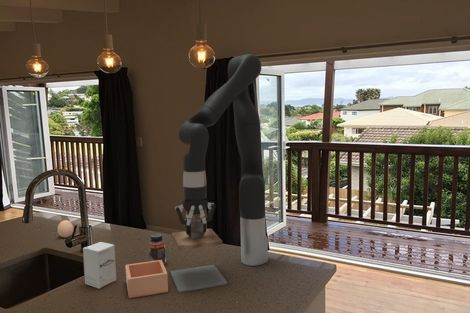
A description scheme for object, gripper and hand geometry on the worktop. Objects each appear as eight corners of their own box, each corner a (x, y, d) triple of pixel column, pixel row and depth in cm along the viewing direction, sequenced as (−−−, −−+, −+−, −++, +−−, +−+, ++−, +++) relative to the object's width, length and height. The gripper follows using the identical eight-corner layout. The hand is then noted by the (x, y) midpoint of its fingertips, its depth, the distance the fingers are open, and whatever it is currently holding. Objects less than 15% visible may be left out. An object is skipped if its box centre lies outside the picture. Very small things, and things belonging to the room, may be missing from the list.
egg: (72, 238, 177) (71, 221, 176) (56, 240, 176) (55, 222, 175) (74, 234, 183) (73, 217, 183) (59, 235, 182) (58, 218, 181)
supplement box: (99, 289, 127) (96, 251, 125) (84, 284, 131) (81, 247, 129) (117, 280, 133) (115, 244, 131) (102, 276, 137) (100, 240, 135)
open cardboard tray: (162, 276, 135) (161, 259, 134) (168, 291, 124) (167, 273, 123) (126, 282, 131) (125, 264, 131) (128, 298, 120) (127, 279, 119)
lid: (211, 231, 140) (210, 214, 140) (222, 244, 127) (221, 225, 126) (171, 236, 136) (171, 218, 135) (179, 249, 123) (178, 230, 122)
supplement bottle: (169, 263, 147) (168, 233, 146) (159, 269, 142) (158, 238, 140) (156, 260, 150) (154, 231, 148) (146, 266, 144) (144, 236, 143)
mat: (214, 266, 143) (214, 264, 143) (227, 284, 128) (227, 282, 128) (170, 272, 138) (170, 271, 138) (178, 292, 123) (178, 291, 123)
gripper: (212, 180, 135) (213, 229, 137) (171, 183, 131) (172, 233, 133) (218, 184, 128) (219, 235, 130) (175, 188, 123) (176, 240, 126)
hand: (196, 234), depth 131 cm, fingers closed on lid, 4 cm apart
